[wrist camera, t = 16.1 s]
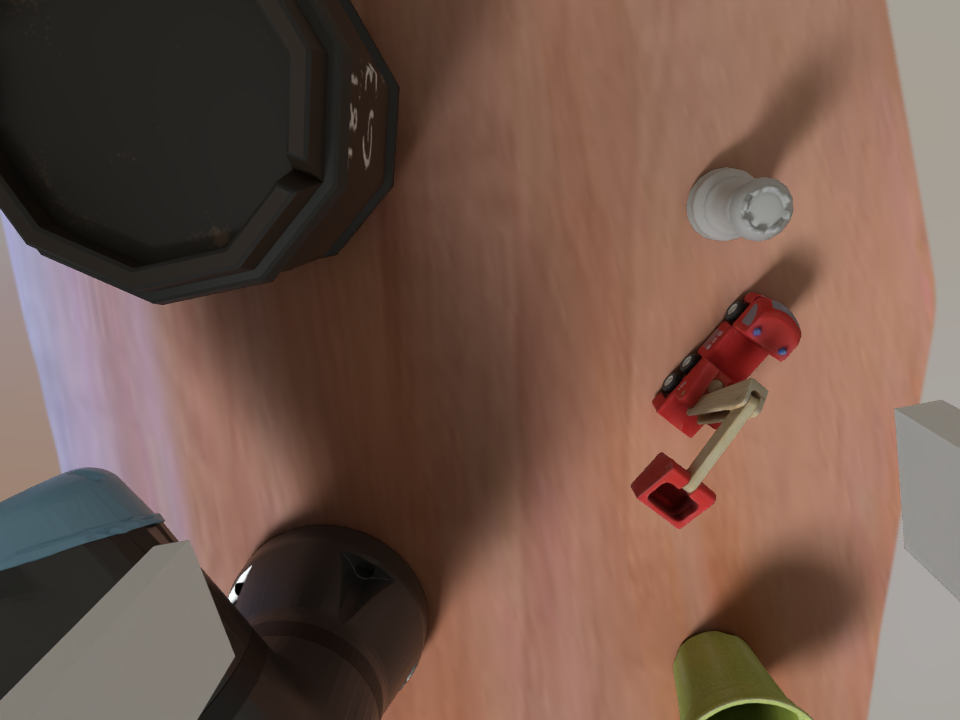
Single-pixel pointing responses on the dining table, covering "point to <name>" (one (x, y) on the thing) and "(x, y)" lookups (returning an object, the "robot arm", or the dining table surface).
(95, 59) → the black bucket
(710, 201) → the rook chess piece
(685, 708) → the plant pot
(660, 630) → the dining table surface
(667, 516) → the toy fire truck
